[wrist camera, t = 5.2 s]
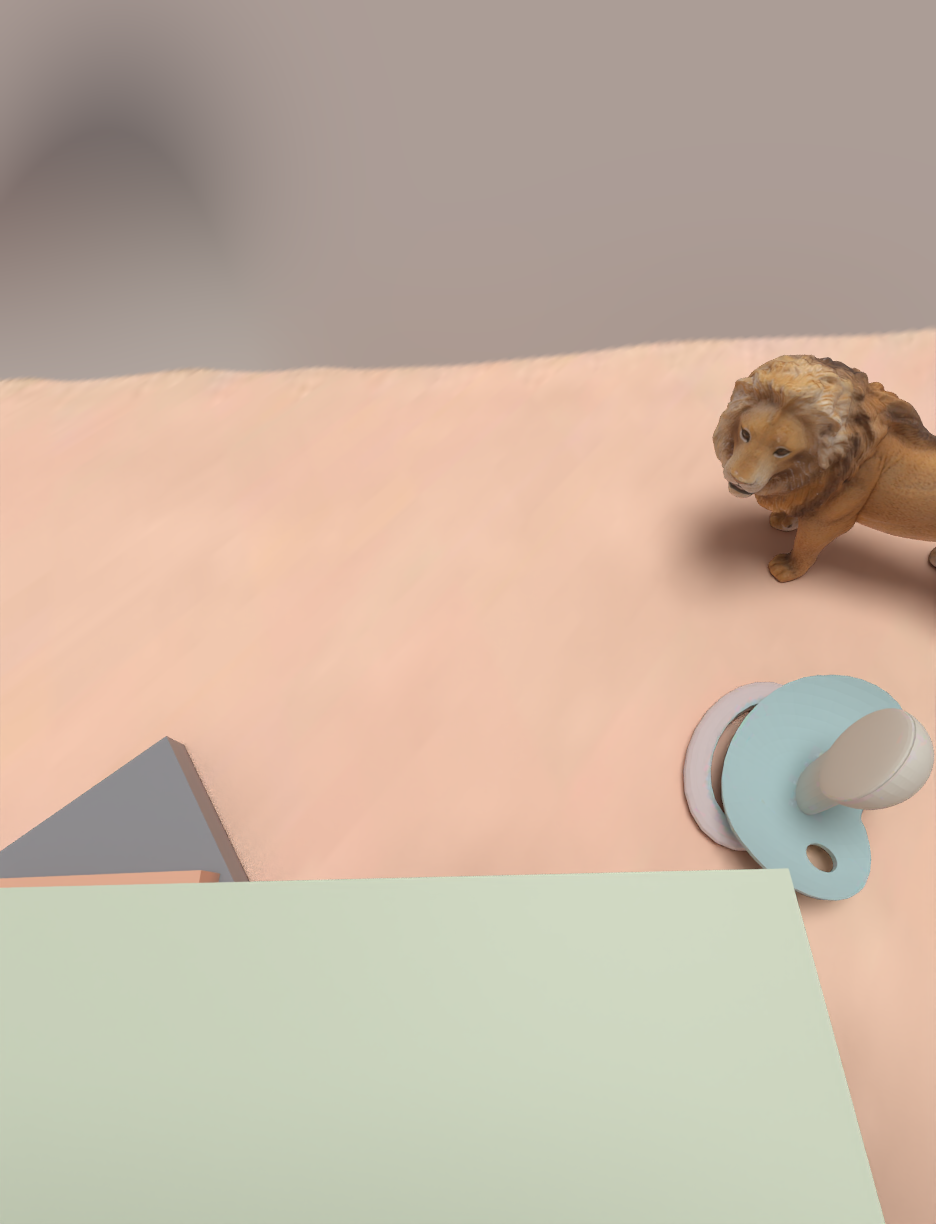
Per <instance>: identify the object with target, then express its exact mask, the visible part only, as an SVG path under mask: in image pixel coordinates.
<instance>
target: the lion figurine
mask: <svg viewBox="0 0 936 1224" xmlns="http://www.w3.org/2000/svg"><path fill="white" fill-rule="evenodd" d="M713 443H714V449H715V453H716V456H717V458H718V459H719V460H720V461H721V463H722V467H723V468H724V470H723V474H724V478H725V479H726V480H727V481H728V488H729V492H730V493H731V494H732V495H734V496H736V497H739V498H746V497H749V496H751V495H752V494H755V497H756V499H757V502H758V504H760V505H761V506H762V507H764V508H766V509H768V510H771V511H773V512H772V513H771V515H770V524H771V526H772V527H774V528H776V529H779V530H783V531H791V530H794V529H796V528H798V529H797V533H796V537H795V541H794V548H793V549H792V550H791V552H790V553H788V554H779V555H776V556H775V557H774V558H773V560H772V561H770V562H769V564H768V567H769V569H770V572H771V574H772V575H773V576H774V577H775V578H776V579H777V580H778V581H780V582H787V581H791V580H794V579H796V578H798V577H800V576H802V575H804V574H805V573H806V572H807V571H808V569H809V568H810V567H811V566H812V565H813V564H814V563H815V561H816V559H817V556H818V554H819V553H820V552H821V551H822V549H823V548H824V547H825V546H826V545H828V544H829V543H830V542H832V541H833V540H834V539H835V538H837V537H838V536H840V535H842V534H844V533H846V532H847V531H849V530H850V529H851V528H852V527H853V526H854V524H855V522H858V523H860V524H862V525H865V526H867V527H870V528H873V529H876V530H879V531H882V532H885V533H888V534H891V535H895V536H900V537H905V538H910V539H916V540H923V541H933V542H936V436H934V435H932V434H931V433H929V431H928V430H927V429H926V428H925V427H924V426H923V424H922V422H921V419H920V417H919V415H918V413H917V412H916V410H915V409H914V407H913V406H912V405H911V404H910V403H908V402H906V401H904V400H902V399H899V398H898V396H897V395H896V394H894V393H892V392H887V391H885V390H884V386H883V385H882V384H881V383H879V382H873V383H868V377H867V375H866V374H865V373H864V372H860V370H858V369H856V368H852V369H851V368H849V367H848V366H846V365H845V364H844V363H842V362H839V361H832V359H831V358H829V357H827V358H821V359H819V358H816V357H815V356H813V355H783V356H780V357H778V358H775V359H773V360H771V361H768V362H766V363H765V364H763V365H761V366H760V367H758V368H757V369H756V370H754V371H753V372H752V373H751V374H750V376H749V377H748V378H741V379H739V380H737V381H736V382H735V388H734V390H733V394H732V395H731V402H730V403H728V406H727V409H726V410H725V411H724V412H723V413H722V415H721V416H720V420H719V423H718V425H717V427H716V429H715V431H714V434H713ZM929 560H930V562H931V563H932V564H933V565H934V566H935V567H936V547H935V548H934V549H933V550H932V551H931V554H930V556H929Z"/></svg>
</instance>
